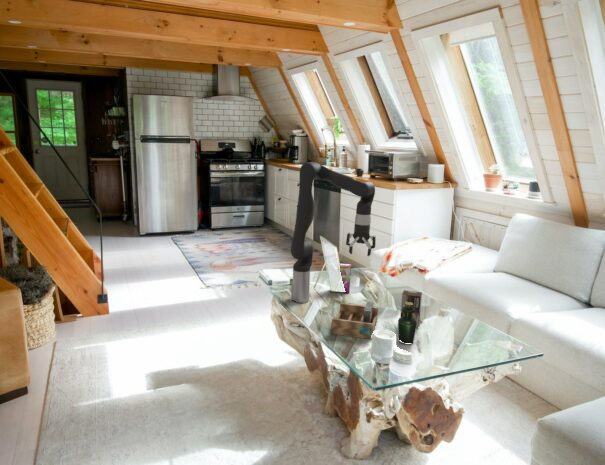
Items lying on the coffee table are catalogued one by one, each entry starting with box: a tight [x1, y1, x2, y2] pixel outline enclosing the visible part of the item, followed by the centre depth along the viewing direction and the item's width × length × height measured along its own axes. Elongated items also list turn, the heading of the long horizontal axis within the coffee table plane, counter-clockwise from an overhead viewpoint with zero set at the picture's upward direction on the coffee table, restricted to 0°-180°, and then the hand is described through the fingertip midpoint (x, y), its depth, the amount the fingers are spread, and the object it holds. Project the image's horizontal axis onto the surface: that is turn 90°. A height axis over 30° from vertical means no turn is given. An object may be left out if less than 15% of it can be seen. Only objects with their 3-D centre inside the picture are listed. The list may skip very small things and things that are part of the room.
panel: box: [363, 301, 374, 323], centre depth 227 cm, size 3×12×10 cm, turn 165°
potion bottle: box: [397, 302, 417, 344], centre depth 214 cm, size 8×8×18 cm
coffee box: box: [400, 290, 423, 329], centre depth 234 cm, size 9×6×16 cm
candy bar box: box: [338, 262, 352, 294], centre depth 278 cm, size 11×5×16 cm, turn 84°
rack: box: [331, 302, 379, 340], centre depth 229 cm, size 19×23×7 cm
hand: (359, 254), depth 238 cm, fingers open, 8 cm apart
